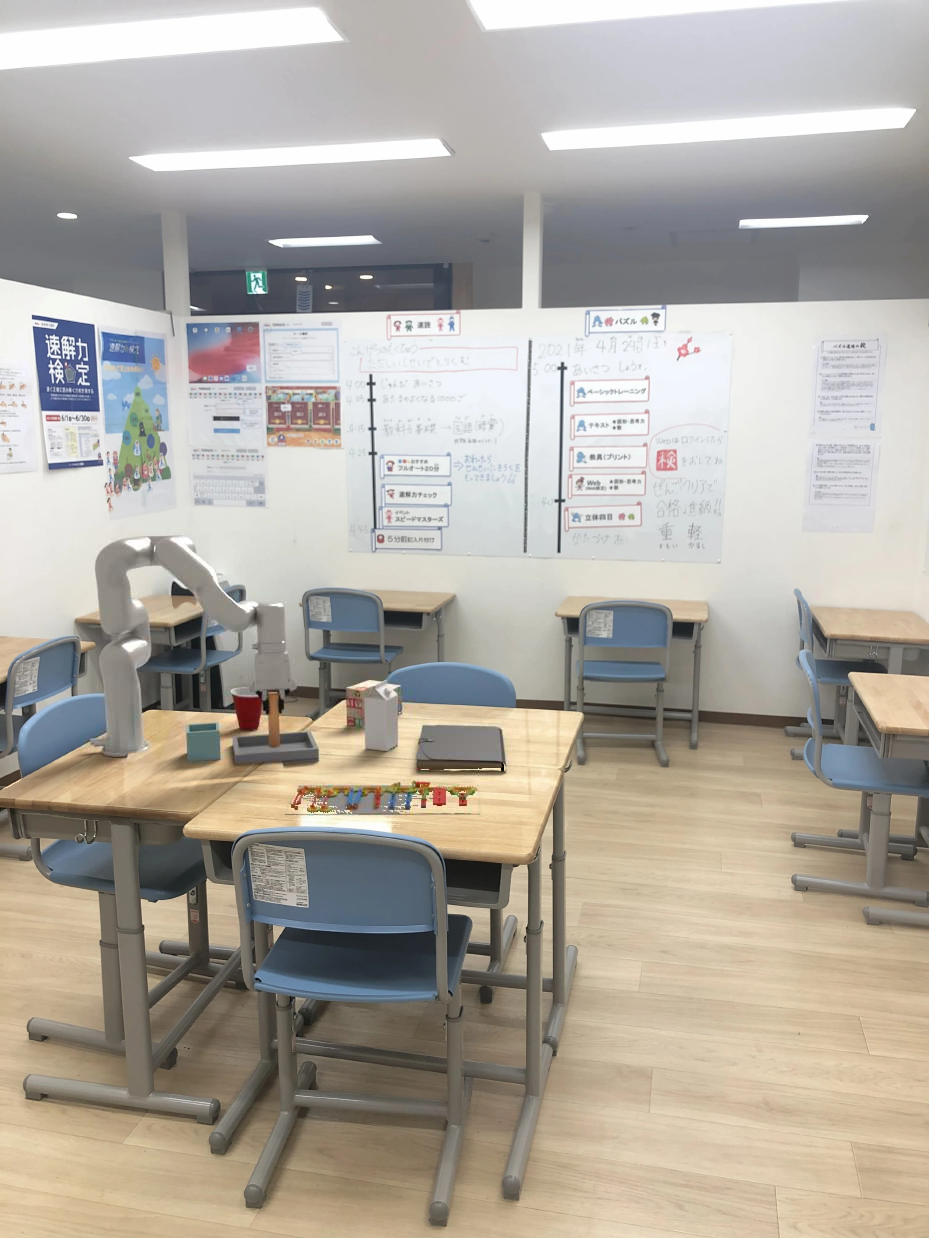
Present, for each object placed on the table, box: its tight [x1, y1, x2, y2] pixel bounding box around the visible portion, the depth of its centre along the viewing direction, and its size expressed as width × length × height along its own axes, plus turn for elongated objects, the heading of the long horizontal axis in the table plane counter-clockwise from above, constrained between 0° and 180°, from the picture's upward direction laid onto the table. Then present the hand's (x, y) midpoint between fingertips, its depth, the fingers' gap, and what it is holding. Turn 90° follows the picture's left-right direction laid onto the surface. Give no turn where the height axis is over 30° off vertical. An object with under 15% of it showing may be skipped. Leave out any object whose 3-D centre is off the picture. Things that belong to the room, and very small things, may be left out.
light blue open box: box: [185, 721, 222, 763], centre depth 251 cm, size 9×9×9 cm
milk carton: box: [364, 679, 399, 752], centre depth 262 cm, size 7×7×19 cm
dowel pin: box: [267, 691, 281, 748], centre depth 255 cm, size 3×3×15 cm
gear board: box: [291, 780, 479, 815], centre depth 222 cm, size 45×2×19 cm
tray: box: [231, 730, 320, 766], centre depth 256 cm, size 22×18×4 cm
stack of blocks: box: [345, 679, 403, 729], centre depth 293 cm, size 21×6×12 cm, turn 149°
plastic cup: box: [230, 686, 263, 731], centre depth 281 cm, size 11×11×12 cm
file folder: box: [415, 724, 507, 770], centre depth 259 cm, size 33×4×24 cm
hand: (273, 712), depth 254 cm, fingers closed on dowel pin, 3 cm apart
